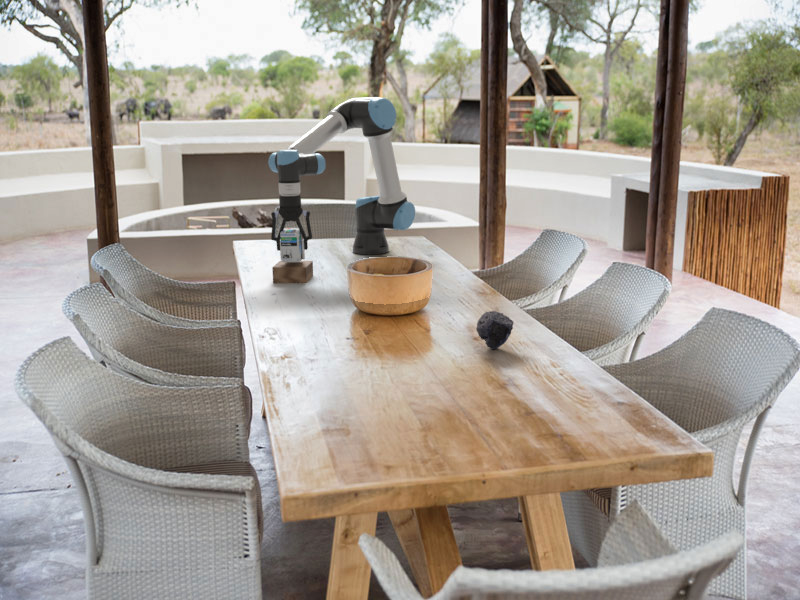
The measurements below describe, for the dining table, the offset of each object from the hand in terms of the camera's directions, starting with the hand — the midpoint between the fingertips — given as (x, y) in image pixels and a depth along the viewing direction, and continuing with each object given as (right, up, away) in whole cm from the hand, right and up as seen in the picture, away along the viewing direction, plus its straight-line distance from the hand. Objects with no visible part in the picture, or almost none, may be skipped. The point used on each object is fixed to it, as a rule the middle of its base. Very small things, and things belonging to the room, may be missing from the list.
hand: (292, 259), depth 297 cm
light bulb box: (0, -1, 0) cm, 0 cm away
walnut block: (0, -8, +2) cm, 8 cm away
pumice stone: (+63, -28, -82) cm, 107 cm away
